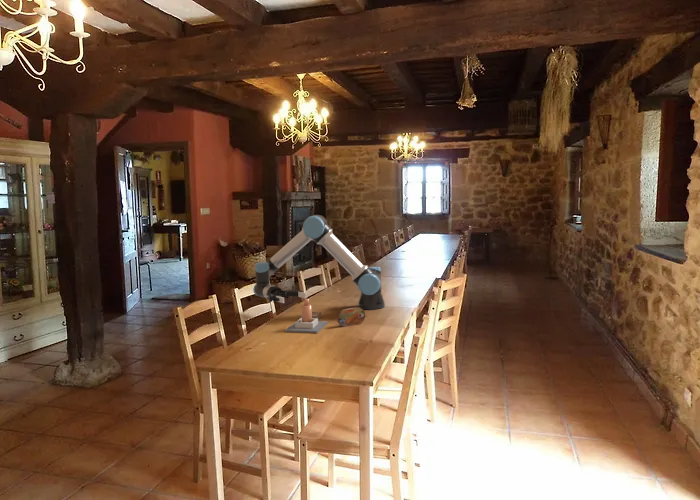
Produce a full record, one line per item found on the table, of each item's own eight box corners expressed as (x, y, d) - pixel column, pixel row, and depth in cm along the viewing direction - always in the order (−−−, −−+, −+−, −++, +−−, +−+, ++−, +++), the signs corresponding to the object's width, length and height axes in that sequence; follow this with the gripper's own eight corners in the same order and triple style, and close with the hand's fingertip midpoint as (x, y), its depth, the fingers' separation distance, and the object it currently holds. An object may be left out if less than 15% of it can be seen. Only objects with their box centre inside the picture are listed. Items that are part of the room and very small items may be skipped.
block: (321, 316, 271) (321, 312, 270) (316, 321, 262) (316, 316, 262) (305, 316, 273) (304, 311, 272) (299, 320, 264) (299, 315, 264)
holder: (327, 323, 257) (327, 316, 256) (317, 333, 240) (316, 326, 239) (297, 322, 261) (297, 315, 260) (285, 332, 243) (284, 324, 243)
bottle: (313, 324, 252) (313, 298, 250) (309, 326, 247) (309, 300, 246) (303, 323, 253) (303, 298, 252) (300, 326, 248) (299, 300, 247)
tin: (338, 327, 248) (338, 310, 247) (336, 326, 251) (335, 309, 250) (365, 323, 255) (365, 306, 254) (362, 321, 258) (362, 305, 257)
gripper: (292, 295, 282) (315, 301, 266) (252, 303, 266) (274, 309, 250) (291, 282, 281) (314, 287, 265) (251, 289, 265) (273, 295, 249)
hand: (295, 298), depth 257 cm, fingers open, 13 cm apart
